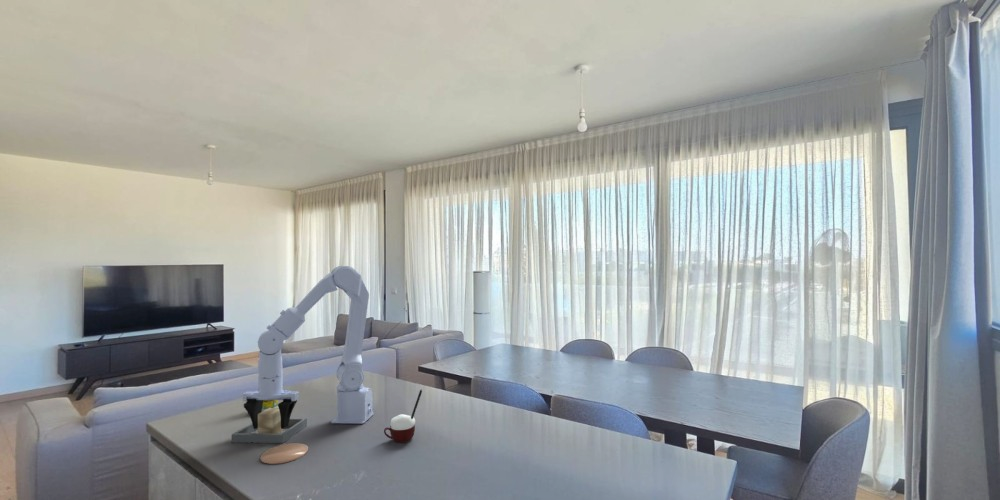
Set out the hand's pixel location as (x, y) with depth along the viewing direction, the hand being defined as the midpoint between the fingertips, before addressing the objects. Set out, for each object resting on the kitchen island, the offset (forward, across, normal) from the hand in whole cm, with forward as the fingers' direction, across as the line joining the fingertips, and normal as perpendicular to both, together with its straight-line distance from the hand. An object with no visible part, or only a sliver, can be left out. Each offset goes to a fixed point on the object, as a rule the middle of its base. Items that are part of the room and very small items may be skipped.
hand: (271, 427), depth 115 cm
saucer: (+2, +11, -12) cm, 16 cm away
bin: (+2, 0, 0) cm, 2 cm away
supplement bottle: (+2, -13, +19) cm, 23 cm away
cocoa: (+2, +37, -3) cm, 37 cm away
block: (+2, 0, 0) cm, 2 cm away
